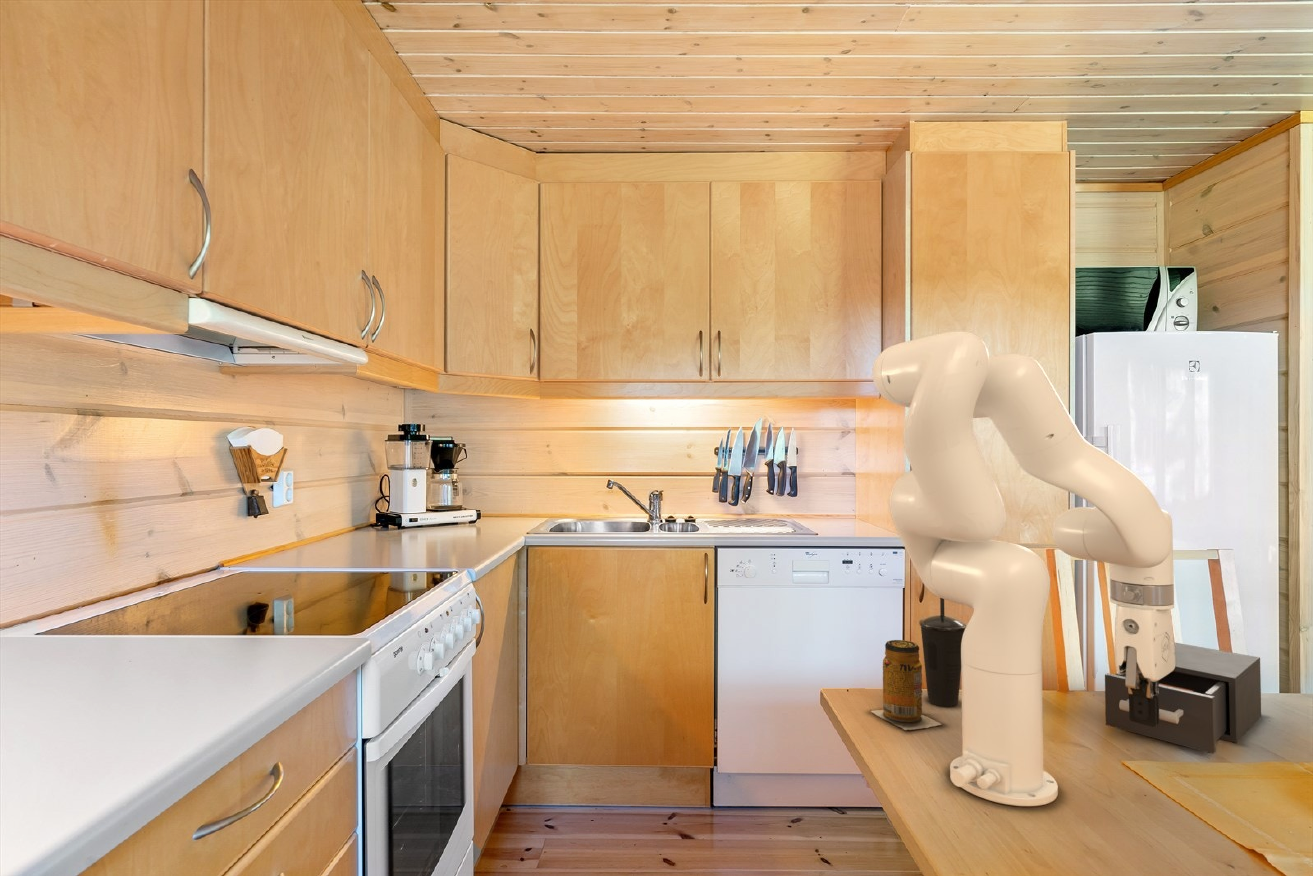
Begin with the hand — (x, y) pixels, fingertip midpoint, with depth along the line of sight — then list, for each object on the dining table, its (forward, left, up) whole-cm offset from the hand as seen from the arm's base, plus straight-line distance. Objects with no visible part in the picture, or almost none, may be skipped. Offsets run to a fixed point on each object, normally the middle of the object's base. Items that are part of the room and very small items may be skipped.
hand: (1144, 722), depth 98 cm
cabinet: (+24, 0, -5) cm, 24 cm away
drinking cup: (-2, +29, -5) cm, 30 cm away
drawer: (+11, 0, -4) cm, 12 cm away
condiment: (-14, +29, -5) cm, 33 cm away
